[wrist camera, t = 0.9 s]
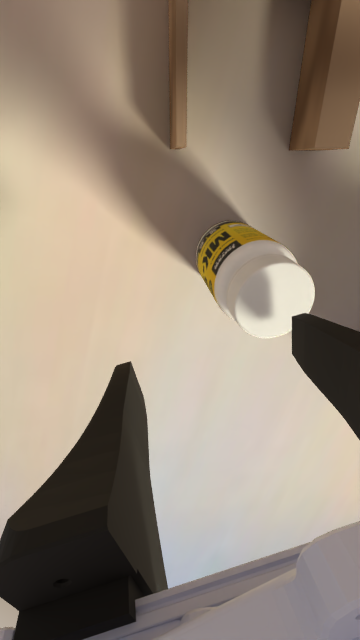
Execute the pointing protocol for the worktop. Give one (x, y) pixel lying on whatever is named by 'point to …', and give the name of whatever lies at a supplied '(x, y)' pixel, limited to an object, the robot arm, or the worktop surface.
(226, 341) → the worktop surface
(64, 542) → the robot arm
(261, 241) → the supplement bottle
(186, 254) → the worktop surface
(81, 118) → the worktop surface
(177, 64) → the tag dock
